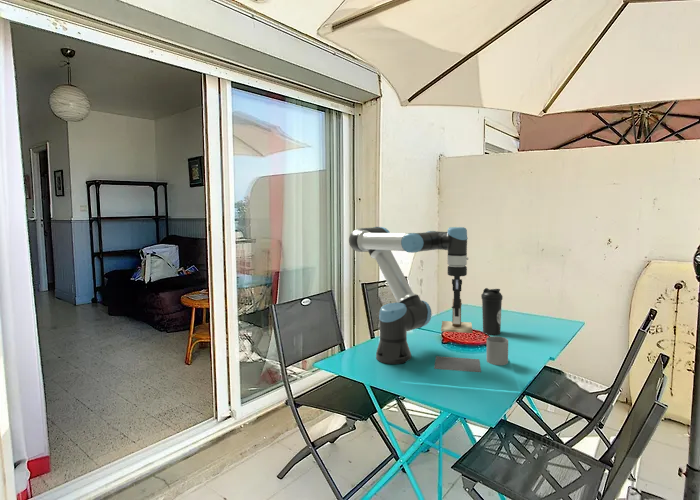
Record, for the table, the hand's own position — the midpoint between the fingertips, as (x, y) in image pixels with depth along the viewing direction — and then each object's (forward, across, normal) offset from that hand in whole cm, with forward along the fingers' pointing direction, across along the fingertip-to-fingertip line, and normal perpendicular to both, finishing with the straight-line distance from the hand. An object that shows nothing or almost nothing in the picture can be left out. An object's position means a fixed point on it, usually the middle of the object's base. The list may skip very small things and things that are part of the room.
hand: (456, 322), depth 163 cm
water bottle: (+18, +48, -17) cm, 54 cm away
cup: (+18, +6, -16) cm, 25 cm away
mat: (+18, 0, 0) cm, 18 cm away
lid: (+2, 0, 0) cm, 2 cm away
